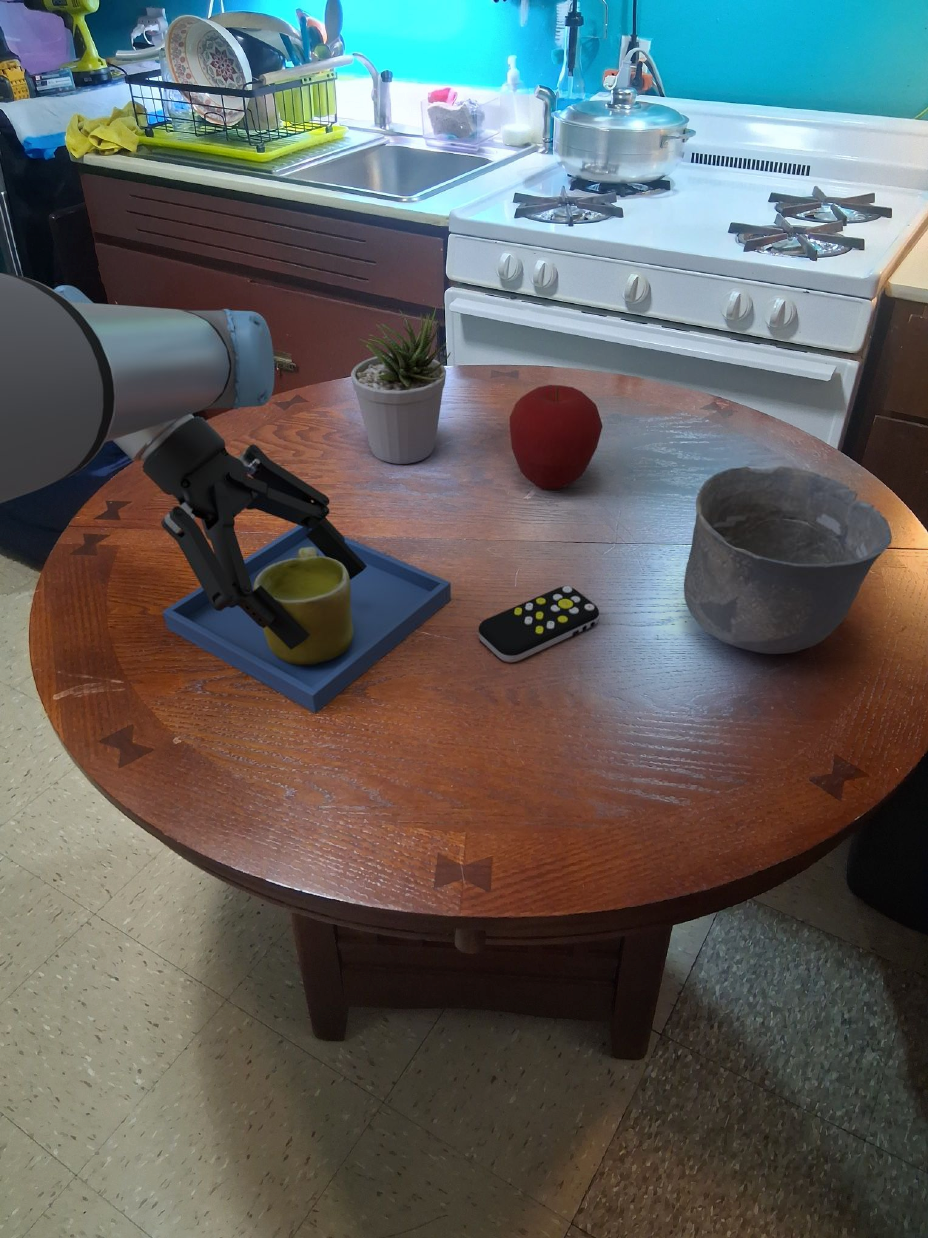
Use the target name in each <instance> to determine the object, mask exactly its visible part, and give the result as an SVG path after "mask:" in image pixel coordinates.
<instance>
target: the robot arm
mask: <svg viewBox="0 0 928 1238" xmlns="http://www.w3.org/2000/svg"><path fill="white" fill-rule="evenodd" d="M274 356H275V355H274V347H273V341H272V335H271V332H270V328H269V326H268V323H267V321H266V320H265V318H264V316H262V315H261V314H260V313H259V312H256V311H251V310H230V309H229V308H223V309H222V308H221V309H220V310H188V309H179V308H177V309H176V308H164V307H163V308H162V307H150V306H135V305H123V304H108V303H107V304H106V303H94V302H93V301H92V300H91V299H90V298H89V297H87V296H86V295H85V294H84V293H83V292H82V291H81V290H80V289H78V288H77V287H75V286H73V285H59V286H57V287H54V289H53V288H51V287H49V286H47V285H46V284H44V283H41V282H39V281H36V280H34V279H31V278H28V277H25V276H21V275H17V274H13V273H7V272H0V504H2V503H5V502H9V501H11V500H14V499H16V498H19V497H23V496H25V495H27V494H30V493H33V492H36V491H39V490H40V489H42V488H43V489H44V488H45V487H47V486H50V485H52V484H55V483H58V482H59V481H60V482H61V481H63V480H65V479H67V478H69V477H70V476H73V475H74V474H76V473H77V472H79V471H81V470H82V469H83V468H85V467H86V466H87V465H88V464H89V463H90V462H91V461H92V460H94V459H95V458H96V456H97V455H98V453H99V452H100V451H101V450H102V448H103V446H104V445H105V443H107V442H110V441H112V442H114V443H115V444H116V445H117V446H118V447H119V448H120V449H121V450H122V452H124V453H125V454H126V455H127V457H128V458H130V460H132V462H141V461H142V463H143V464H142V465H141V467H142V472H143V473H144V474H145V475H146V476H147V477H148V478H149V479H150V480H151V481H152V482H153V483H154V484H155V485H156V486H157V487H158V488H159V489H160V490H161V491H162V492H163V493H164V494H165V495H167V496H173V497H174V498H175V499H176V501H177V502H178V505H179V506H177V505H176V506H174V507H173V508H172V509H170V511H169V512H168V513H167V514H166V515H165V516H164V517H163V518H162V519H161V521H160V526H161V527H162V529H164V530H165V531H166V532H167V533H168V534H169V535H170V536H171V537H172V538H173V539H174V540H175V542H177V544H178V546H179V548H180V550H181V552H182V553H183V556H184V557H185V559H186V561H187V562H188V564H189V566H190V568H191V570H192V571H193V574H194V575H195V577H196V579H197V580H198V583H199V584H200V587H201V586H202V588H203V590H204V591H205V593H206V595H207V597H208V599H209V600H210V602H211V604H212V606H213V607H214V609H216V610H218V611H222V610H223V609H224V608H227V607H230V608H234V607H235V606H236V605H237V606H239V607H240V608H242V609H243V610H244V611H245V612H246V613H247V614H248V615H249V616H250V617H251V618H252V619H253V620H254V621H255V622H256V623H257V624H258V625H259V626H260V627H262V628H265V627H266V626H267V627H268V628H269V629H270V630H271V631H272V632H273V633H274V634H275V635H276V636H277V637H278V638H279V639H280V640H281V641H282V642H283V643H284V644H285V645H286V646H287V647H288V648H289V649H290V650H292V649H293V648H295V647H296V646H297V645H299V644H300V643H302V642H303V641H305V640H306V639H307V638H308V637H309V635H310V634H309V633H308V632H307V631H306V630H305V629H304V628H303V627H302V626H301V625H300V624H299V623H298V622H297V621H296V620H295V619H294V618H293V617H292V616H291V615H290V614H289V613H288V612H287V611H286V610H285V609H284V608H283V607H282V606H281V605H280V604H279V603H278V602H277V601H276V600H275V599H274V598H273V597H272V596H271V595H270V594H269V593H268V592H267V591H266V590H265V589H264V588H263V587H262V586H261V585H260V586H259V587H258V588H257V589H255V590H254V591H253V588H252V585H251V581H250V578H249V575H248V572H247V569H246V566H245V562H244V559H245V558H244V557H243V554H242V550H241V548H240V544H239V541H238V538H237V534H236V531H235V523H236V521H235V518H236V516H238V515H239V514H241V513H242V512H243V511H244V510H245V509H246V510H258V511H261V512H263V513H265V514H268V515H271V516H273V517H276V518H278V519H282V520H285V521H287V522H289V523H292V524H295V525H296V526H297V525H300V526H303V527H305V528H308V529H311V528H312V530H311V531H310V532H309V533H308V534H307V535H306V536H307V537H308V538H309V540H310V541H311V542H312V543H313V544H314V545H315V546H316V547H317V548H318V549H319V550H320V551H321V552H322V553H323V554H324V555H325V556H326V557H329V558H332V559H335V560H337V561H339V562H340V563H342V564H343V565H344V566H345V568H346V570H347V572H348V574H349V578H350V580H351V579H352V578H354V577H355V576H356V575H358V574H359V573H360V572H362V571H363V570H364V569H365V568H366V567H367V566H366V565H365V563H364V562H363V561H362V560H361V559H360V558H359V557H358V556H357V555H356V554H355V553H354V552H353V551H352V550H351V549H350V548H349V547H348V545H347V544H346V543H345V542H344V541H345V539H344V537H343V536H344V535H343V534H342V533H341V532H340V531H339V530H338V529H337V528H336V527H335V526H334V525H333V524H332V523H331V521H329V519H328V518H327V516H329V514H330V513H331V510H330V508H329V507H328V506H329V504H330V498H329V497H328V496H327V495H325V494H324V493H322V492H321V491H319V490H318V489H316V488H315V487H314V486H312V485H310V484H308V483H307V482H306V481H304V480H303V479H301V478H299V477H298V476H296V475H294V474H293V473H291V472H290V471H289V470H287V469H285V468H284V467H282V465H281V466H280V465H279V464H277V463H276V462H275V461H273V460H271V458H269V457H268V456H267V455H266V454H265V452H263V451H262V449H261V448H260V447H259V446H258V445H256V444H250V445H249V446H248V447H247V448H246V449H245V450H244V451H243V452H242V454H240V455H239V456H238V457H236V456H233V455H232V454H230V453H229V452H228V450H227V449H226V441H225V440H224V438H223V437H222V436H221V435H220V434H219V433H218V432H217V431H216V430H215V429H214V427H212V426H211V424H210V423H209V422H208V421H207V420H206V419H205V418H204V417H202V416H194V415H193V414H194V413H198V412H201V411H205V410H208V409H209V410H211V409H232V410H239V409H240V408H241V409H242V408H255V407H262V406H264V405H267V403H268V402H270V400H271V398H272V395H273V393H274V388H275V357H274ZM196 518H197V519H200V521H201V525H202V528H203V530H202V529H201V527H200V526H199V524H198V523H197V522H196V520H195V519H196ZM208 540H209V541H210V542H211V545H210V543H209V541H208Z"/></svg>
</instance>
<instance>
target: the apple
mask: <svg viewBox="0 0 928 1238" xmlns="http://www.w3.org/2000/svg"><path fill="white" fill-rule="evenodd" d="M602 430H603V422H602V419H601V416H600V412H599V410H598V406H597V404H596V403H595V402H594V401H593V400H592V399H591V398H589V397H588V396H587V395H586V394H585V393H584V392H583V391H582V390H580V389H577V388H575V387H573V386H567V385H561V384H547V385H543V386H538V387H536V388H534V389H531V390H530V391H529V392H527V393H526V394H524V395H522V396H521V397H520V398H519V399H518V401H516V403H515V404H514V406H513V409H512V410H511V413H510V415H509V433H510V445H511V450H512V453H513V456H514V458H515V461H516V463H517V466H518V468H519V471H520V473H521V474H522V475H523V477H524V478H525V479H526V480H527V481H529V482H530V483H532V485H534V486H535V487H537V488H538V489H540V490H545V491H555V490H559V489H563V488H564V487H566V486H568V485H570V484H573V483H574V482H576V481H577V480H579V479H580V478H581V477H582V476H583V475H584V474H585V472H586V470H587V468H588V466H589V465H590V462H591V460H592V458H593V457H594V455H595V452H596V450H597V449H598V444H599V441H600V438H601V433H602Z"/></svg>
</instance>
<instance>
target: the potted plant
mask: <svg viewBox="0 0 928 1238" xmlns="http://www.w3.org/2000/svg"><path fill="white" fill-rule="evenodd" d="M399 312H400V314H401V316H402V317H403V319H404V321H405V323H406V326H407V327H406V326H403V329H404V330H405V331H406V332H407V334H408V337H409V341H408V340H407V339H405V338H404V337H402V335H401V334H399V333H398V332H396V331H395V330H394V329H391V328H390V327H389V326H387V325H385V324H383V323H381V326H382V327H383V328H385V329H386V330H387V331H389V332H391V334H393V335H394V336H395V337H396V338H397V339H398V340H399V341H400V342H401V345H400V344H399V343H398V342H396V341H395V340H394V339H392V338H391V337H390V336H389V335H388V334H387V333H386V332H385V330H384V329H383V328H382V327H381V326H380V325H378V324H377V323H374V325H375V326H376V327H377V328H378V329H380V331H381V332H382V334H383V335H384V336H383V335H382V338H380V337H377V336H374V335H372V334H368V336H370V337H372V338H374V339H372V338H368V339H367V340H365V339H362V338H357V339H358V340H359V341H362V342H363V343H365V346H366V347H367V348H368V350H370V351H371V353H373V354H374V355H375V356H373V357H370V358H368V359H365V360H364V361H362V362H360V363H357V364H356V365H355V366H354V368H353V369H352V370H351V372H350V379H351V383H352V387H353V390H354V392H355V394H356V397H357V401H358V406H359V410H360V413H361V418H362V421H363V426H364V429H365V432H366V437H367V441H368V444H369V447H370V451H371V452H372V454H373V455H374V456H375V457H376V458H377V459H378V460H381V461H383V462H386V463H390V464H394V465H395V464H396V465H405V464H406V465H407V464H413V463H417V462H420V461H423V460H424V459H426V458H428V457H429V456H430V455H431V454H432V453H433V452H434V449H435V446H436V441H437V434H438V428H439V421H440V420H439V419H440V413H441V407H442V398H443V391H444V387H445V385H446V378H447V370H446V367H445V366H444V365H443V364H444V363H445V362H446V361H447V359H448V358H449V357H450V355H451V353H452V352H451V351H450V352H449V353H448V355H447V356H446V357H445V358H444V360H442V361H441V362H440V361H438V359H437V360H436V359H435V357H436V356H437V355H438V354H439V353H440V352H441V351H442V350H443V349H444V348H445V346H447V343H446V342H445V343H443V344H442V345H441V346H440V347H439V348H438V346H437V344H438V343H435V349H434V352H433V353H432V354H431V355H430V352H431V347H432V344H433V342H434V339H435V337H436V335H437V333H438V330H439V327H440V326H441V325H440V323H441V321H438V323H437V326H436V328H435V330H434V332H433V334H432V329H433V326H434V320H435V316H436V313H437V307H435V309H434V311H433V314H432V316H431V313H429V314H428V313H426V317H425V318H426V319H425V321H424V320H423V315H422V313H420V328H419V333H418V335H417V338H416V336H415V333H414V330H413V327H412V325H411V324H410V322H409V320H408V318H407V317H406V316H405V315H404V314H403V312H402V311H401V310H400V309H399ZM430 316H431V320H430ZM423 321H424V322H423ZM384 339H387V341H389V342H387V341H385V340H384ZM372 342H373V343H376V344H379V345H381V346H382V347H384V348H385V349H386V350H387V351H388V352H389V353H387V352H386V351H385V350H383V349H382V348H380V347H378V346H377V345H375V344H373V343H372ZM437 348H438V349H437ZM429 355H430V356H429Z"/></svg>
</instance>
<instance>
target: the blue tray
mask: <svg viewBox="0 0 928 1238" xmlns="http://www.w3.org/2000/svg"><path fill="white" fill-rule="evenodd" d="M311 530H312V528H311V529H308V528H305V527H303V526H300V525H297V524H296V526H294V527H293V528H291V529H290V530H288V531H286V532H285V533H283V534H281V535H280V536H278V537H277V538H276V539H274V540H272V541H270V542H269V543H267V544H266V545H264V546H262V547H260V548H259V549H258V550H256V551H255V552H253V553H252V554H250V555H249V556H247V557H246V558H243V559H244V562H245V566H246V569H247V572H248V575H249V578H250V581H251V585H252V588H253V591H254V582H255V580H256V578H257V576H258V575H259V574H260V573H261V572H262V571H263V570H264V569H265V568H266V567H268V566H270V565H272V564H274V563H278V562H280V561H284V560H288V559H291V558H297V554H298V551H299V550H300V549H301V548H307V547H314V548H316V549H317V551H318V554H319V556H323V557H326V556H325V555H324V554H323V553H322V552H321V551H320V550H319V549H318V548H317V547H316V546H315V545H314V544H313V543H312V542H311V541H310V540H309V538H308V537H307V536H306V535H307V534H308V533H309V532H310V531H311ZM343 537H344V539H345V541H344V542H345V543H346V544H347V545H348V547H349V548H350V549H351V550H352V551H353V552H354V553H355V554H356V555H357V556H358V557H359V558H360V559H361V560H362V561H363V562H364V563H365V565H366V566H367V567H366V568H365V569H364V570H363V571H362V572H360V573H359V574H358V575H356V576H355V577H354V578H352V579H351V580H350V585H351V617H352V623H353V638H352V642H351V644H350V647H349V649H348V650H347V651H346V652H345V653H343V654H341V655H339V656H337V657H335V658H333V659H332V660H329V661H326V662H320V663H317V664H315V665H303V666H297V665H293V664H290V663H287V662H285V661H282V660H280V659H279V658H277V657H276V656H275V655H274V654H273V652H272V651H271V649H270V648H269V646H268V643H267V640H266V636H265V633H264V630H263V628H262V627H260V626H259V625H258V624H257V623H256V622H255V621H254V620H253V619H252V618H251V617H250V616H249V615H248V614H247V613H246V612H245V611H244V610H243V609H242V608H240V607H239V606H237V605H236V606H235V607H234V608H230V607H227V608H224V609H223V610H222V611H218V610H216V609H214V607H213V606H212V604H211V602H210V600H209V599H208V597H207V595H206V593H205V591H204V590H203V588H202V586H201V585H200V586H199V587H198V588H197V589H195V590H193V591H192V592H190V593H189V594H187V595H186V596H183V597H182V598H181V599H179V600H178V601H176V602H175V603H172V604H171V605H170V606H168V607H167V608H165V609H163V610H162V611H161V612H162V616H163V620H164V623H165V626H166V629H167V630H168V631H170V632H172V633H173V634H175V635H178V636H179V637H180V638H183V639H185V640H186V641H188V642H190V644H193V645H194V646H196V647H198V648H200V649H202V650H204V651H205V652H207V653H209V654H210V655H212V656H214V657H216V658H217V659H220V660H221V661H223V662H224V663H226V664H228V665H229V666H232V667H233V668H235V669H237V670H239V671H240V672H242V673H244V674H246V675H247V676H249V677H251V678H252V679H254V680H256V681H258V682H259V683H262V684H263V685H265V686H267V687H268V688H270V689H272V690H274V691H276V692H277V693H278V694H281V695H282V696H284V697H286V698H288V699H289V700H291V701H293V702H295V703H296V704H298V705H300V706H302V707H304V708H305V709H307V710H309V711H310V712H312V713H314V714H317V713H318V712H320V711H321V710H322V709H323V708H324V707H325V706H326V705H328V704H329V703H330V702H331V701H332V700H333V699H335V698H336V697H337V696H338V695H340V694H341V693H342V692H344V690H346V689H347V688H348V687H349V686H350V685H352V684H353V683H354V682H355V681H357V679H359V678H360V677H361V676H362V675H363V674H364V673H366V672H367V671H368V670H370V668H372V667H373V666H374V665H375V664H376V663H377V662H379V661H380V660H382V658H383V657H385V656H386V655H387V654H388V653H389V652H391V651H392V650H393V649H394V648H395V647H396V646H398V645H399V644H400V643H401V642H403V641H404V640H405V639H406V638H407V637H408V636H409V635H411V634H412V633H413V632H414V631H416V630H417V629H418V628H419V627H421V625H422V624H425V622H426V621H427V620H429V619H430V618H431V617H432V616H433V615H434V614H436V613H437V612H438V611H439V610H440V609H441V608H443V607H444V606H445V605H446V604H447V603H449V602H450V601H451V600H452V590H451V589H452V587H451V586H452V585H451V582H450V581H448V580H445V578H444V579H443V578H442V577H439V576H437V575H434V574H432V573H430V572H427V571H425V570H423V569H421V568H418V567H416V566H414V565H411V564H409V563H406V562H405V561H402V560H400V559H398V558H396V557H393V556H390V555H388V554H386V553H383V552H381V551H379V550H376V549H375V548H372V547H370V546H368V545H366V544H363V543H361V542H358V541H356V540H353V539H352V538H349V537H348V536H345V535H343Z"/></svg>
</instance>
